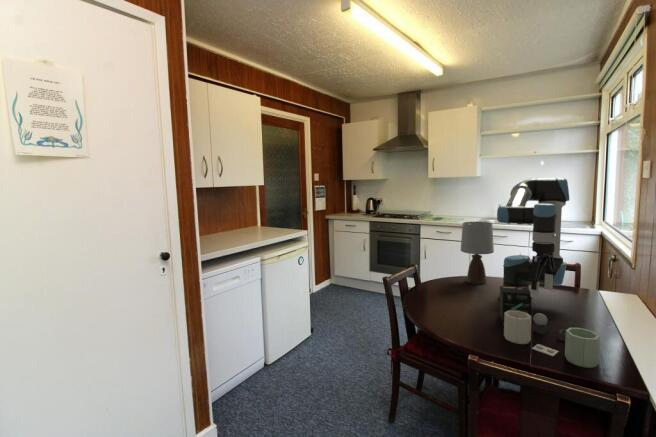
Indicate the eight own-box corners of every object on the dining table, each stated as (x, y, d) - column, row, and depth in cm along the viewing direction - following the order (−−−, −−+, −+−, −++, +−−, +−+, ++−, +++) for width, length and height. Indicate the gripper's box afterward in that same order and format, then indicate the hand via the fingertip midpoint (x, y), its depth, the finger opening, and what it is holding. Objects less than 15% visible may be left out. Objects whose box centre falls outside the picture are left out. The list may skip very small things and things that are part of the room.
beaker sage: (561, 359, 114) (562, 332, 113) (570, 351, 119) (572, 325, 118) (592, 370, 107) (593, 341, 106) (600, 361, 112) (602, 333, 111)
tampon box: (525, 317, 149) (526, 286, 147) (531, 326, 140) (532, 293, 138) (499, 315, 152) (499, 285, 151) (502, 323, 144) (503, 291, 142)
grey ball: (530, 324, 135) (531, 313, 135) (536, 321, 138) (536, 310, 138) (544, 329, 131) (544, 317, 131) (549, 325, 134) (549, 313, 134)
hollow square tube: (557, 339, 128) (558, 331, 128) (561, 336, 130) (561, 329, 130) (569, 342, 125) (569, 335, 125) (572, 339, 127) (573, 332, 127)
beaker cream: (500, 338, 131) (501, 314, 130) (510, 331, 136) (511, 308, 135) (523, 346, 124) (524, 321, 123) (533, 339, 129) (534, 315, 128)
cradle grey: (532, 331, 136) (533, 324, 135) (536, 328, 138) (537, 321, 137) (543, 334, 132) (543, 327, 132) (546, 331, 135) (547, 324, 134)
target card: (531, 348, 122) (531, 347, 122) (537, 344, 125) (537, 343, 125) (553, 356, 116) (553, 355, 116) (558, 351, 119) (558, 350, 119)
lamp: (500, 284, 197) (501, 223, 193) (475, 288, 191) (476, 226, 187) (477, 276, 214) (478, 220, 210) (453, 279, 209) (454, 222, 205)
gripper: (540, 248, 121) (539, 303, 123) (566, 239, 135) (563, 288, 138) (519, 245, 127) (517, 298, 129) (545, 237, 141) (543, 284, 144)
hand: (541, 293), depth 133 cm, fingers open, 13 cm apart
